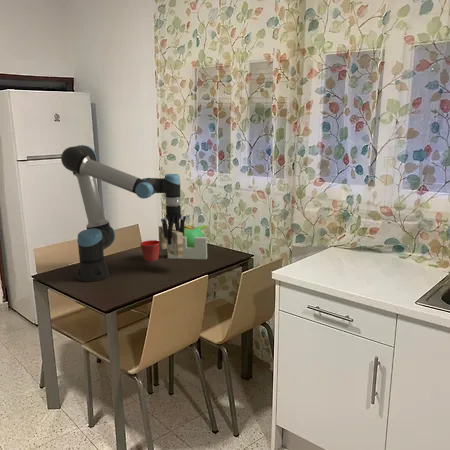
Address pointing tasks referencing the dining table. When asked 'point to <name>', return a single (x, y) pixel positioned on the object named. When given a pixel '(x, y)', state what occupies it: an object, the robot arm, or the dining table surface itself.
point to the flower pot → (150, 250)
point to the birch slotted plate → (177, 242)
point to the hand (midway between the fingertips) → (174, 249)
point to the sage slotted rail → (193, 249)
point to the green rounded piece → (192, 234)
